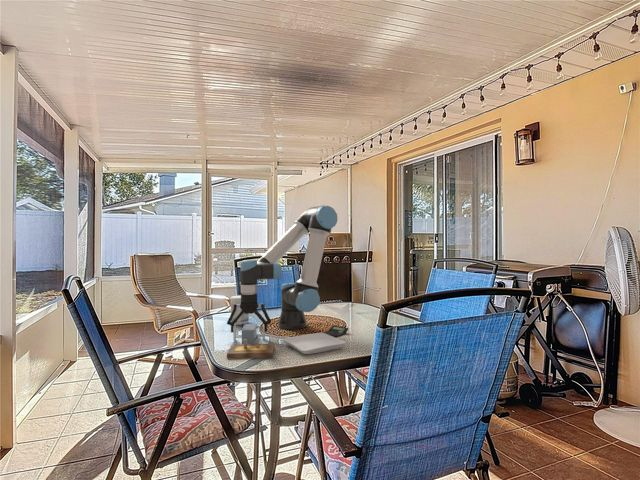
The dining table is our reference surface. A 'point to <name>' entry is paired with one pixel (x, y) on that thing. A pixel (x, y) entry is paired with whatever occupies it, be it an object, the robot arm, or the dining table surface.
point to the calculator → (336, 331)
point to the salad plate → (314, 343)
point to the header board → (251, 350)
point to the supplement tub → (238, 311)
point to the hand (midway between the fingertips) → (249, 339)
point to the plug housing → (249, 333)
